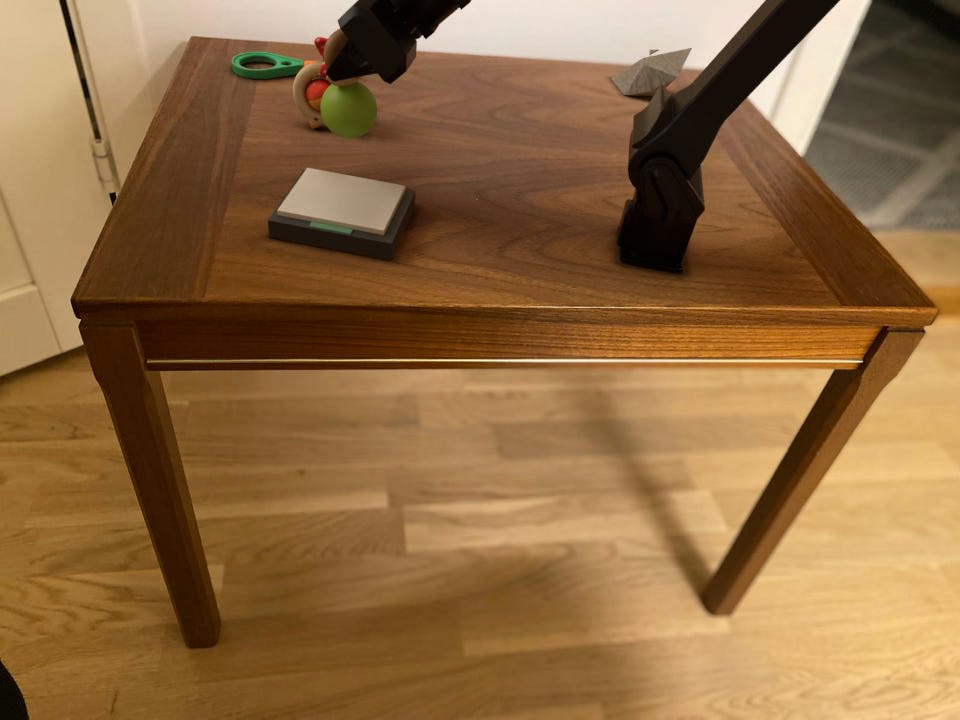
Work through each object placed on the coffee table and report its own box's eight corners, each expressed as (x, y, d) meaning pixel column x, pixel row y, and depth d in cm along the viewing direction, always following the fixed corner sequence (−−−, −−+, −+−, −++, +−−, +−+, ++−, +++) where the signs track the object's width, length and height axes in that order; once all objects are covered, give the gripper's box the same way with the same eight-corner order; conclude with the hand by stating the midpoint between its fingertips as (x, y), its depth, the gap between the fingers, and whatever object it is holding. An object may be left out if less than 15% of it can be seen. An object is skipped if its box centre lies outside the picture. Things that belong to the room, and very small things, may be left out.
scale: (414, 207, 78) (416, 185, 76) (391, 260, 71) (391, 238, 69) (304, 186, 79) (302, 164, 77) (269, 237, 71) (266, 214, 69)
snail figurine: (395, 135, 75) (398, 11, 67) (345, 153, 71) (342, 24, 63) (361, 115, 77) (359, -8, 69) (310, 132, 74) (302, 4, 65)
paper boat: (601, 87, 104) (603, 46, 109) (617, 121, 108) (617, 80, 113) (687, 57, 98) (685, 15, 103) (700, 94, 103) (697, 52, 108)
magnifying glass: (229, 77, 95) (228, 64, 94) (235, 59, 100) (234, 46, 99) (349, 85, 98) (349, 72, 97) (350, 66, 102) (350, 54, 101)
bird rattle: (317, 156, 87) (388, 128, 87) (271, 69, 80) (349, 38, 79) (315, 132, 92) (383, 105, 91) (271, 47, 84) (345, 17, 83)
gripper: (425, -154, 65) (311, -36, 73) (363, -113, 51) (230, 26, 59) (503, -41, 70) (387, 57, 78) (464, 24, 56) (329, 135, 64)
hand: (338, 66), depth 70 cm, fingers closed on snail figurine, 5 cm apart
